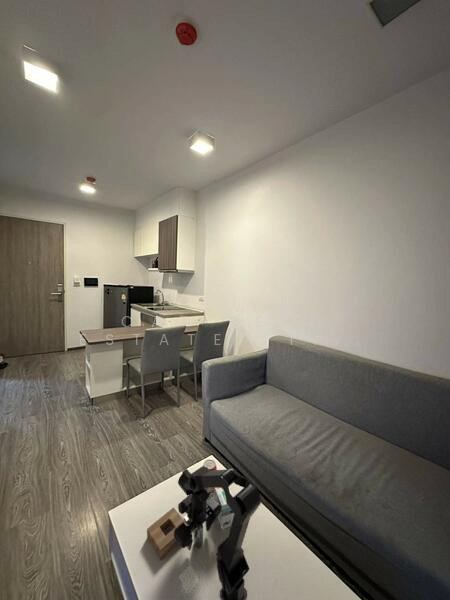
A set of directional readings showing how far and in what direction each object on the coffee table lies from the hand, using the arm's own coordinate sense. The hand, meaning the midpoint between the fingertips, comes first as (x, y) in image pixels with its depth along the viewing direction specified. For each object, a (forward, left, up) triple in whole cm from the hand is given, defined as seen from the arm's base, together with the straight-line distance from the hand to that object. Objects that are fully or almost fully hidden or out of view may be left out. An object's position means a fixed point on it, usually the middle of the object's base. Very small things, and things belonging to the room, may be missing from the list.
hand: (198, 539), depth 89 cm
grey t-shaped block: (+7, -4, -2) cm, 9 cm away
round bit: (0, 0, -2) cm, 2 cm away
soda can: (+15, -19, -2) cm, 24 cm away
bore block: (+11, +7, -2) cm, 13 cm away
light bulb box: (+1, -15, -2) cm, 15 cm away
